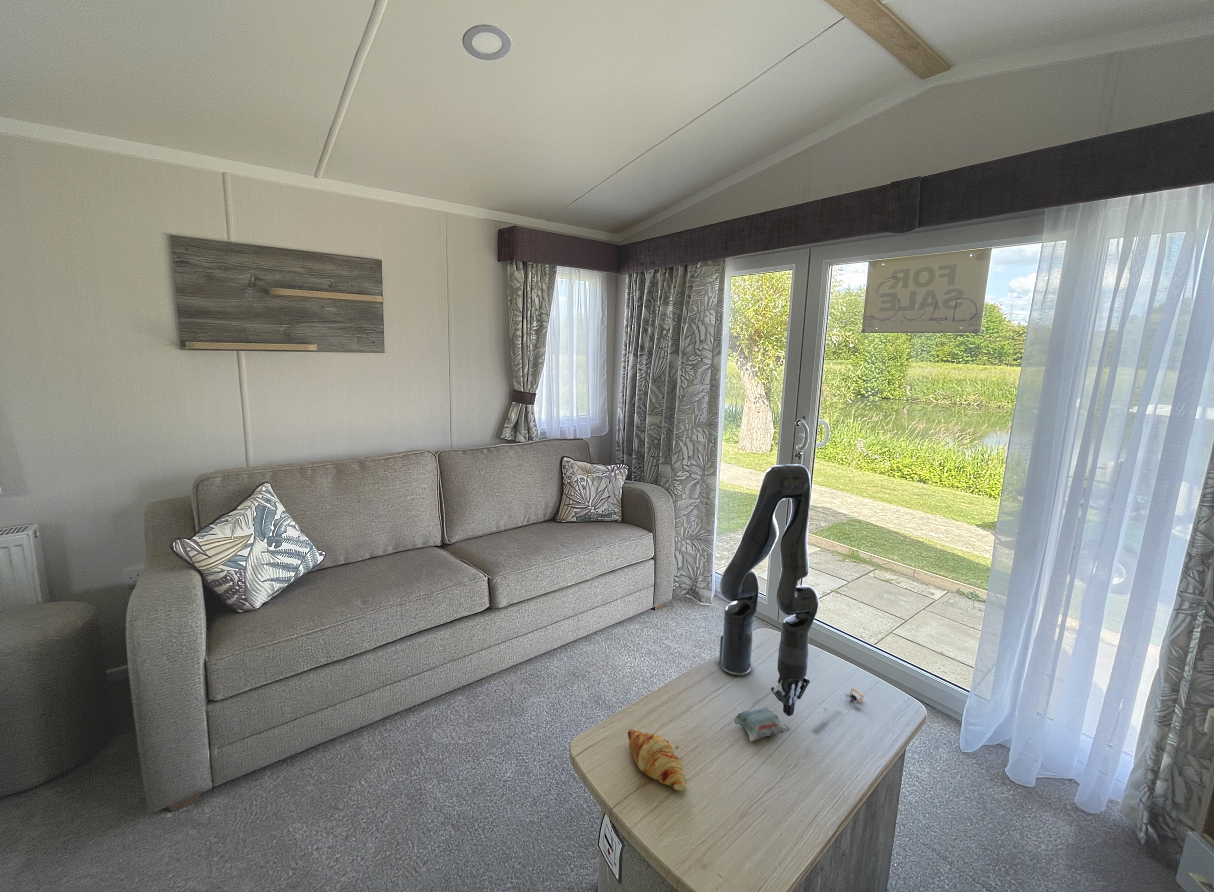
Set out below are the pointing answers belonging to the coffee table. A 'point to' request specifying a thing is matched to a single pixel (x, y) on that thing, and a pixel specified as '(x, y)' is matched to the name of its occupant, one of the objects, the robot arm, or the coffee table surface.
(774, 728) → the packaged food
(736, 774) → the coffee table surface
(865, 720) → the coffee table surface
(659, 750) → the croissant
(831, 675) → the coffee table surface
